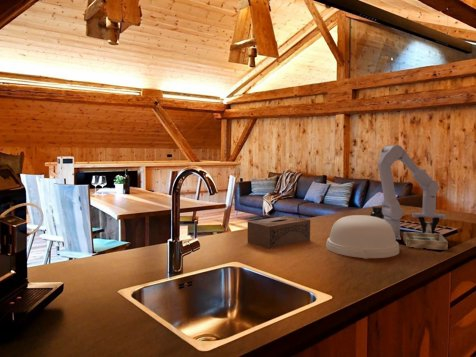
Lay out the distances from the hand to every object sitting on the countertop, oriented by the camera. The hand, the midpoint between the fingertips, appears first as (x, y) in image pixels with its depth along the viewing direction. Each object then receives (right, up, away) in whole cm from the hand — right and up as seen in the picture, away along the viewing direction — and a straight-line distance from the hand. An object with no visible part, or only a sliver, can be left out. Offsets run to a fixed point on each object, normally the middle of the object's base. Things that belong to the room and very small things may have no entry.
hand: (428, 232), depth 197 cm
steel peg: (0, -2, 0) cm, 2 cm away
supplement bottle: (-19, -1, +17) cm, 26 cm away
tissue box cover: (-73, -3, -9) cm, 73 cm away
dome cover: (-39, -4, -22) cm, 45 cm away
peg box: (-9, -3, -15) cm, 18 cm away
